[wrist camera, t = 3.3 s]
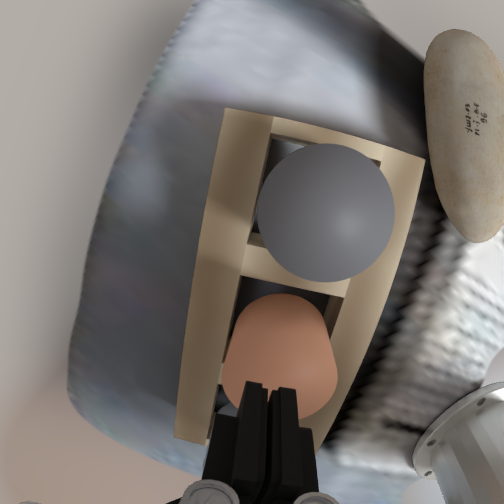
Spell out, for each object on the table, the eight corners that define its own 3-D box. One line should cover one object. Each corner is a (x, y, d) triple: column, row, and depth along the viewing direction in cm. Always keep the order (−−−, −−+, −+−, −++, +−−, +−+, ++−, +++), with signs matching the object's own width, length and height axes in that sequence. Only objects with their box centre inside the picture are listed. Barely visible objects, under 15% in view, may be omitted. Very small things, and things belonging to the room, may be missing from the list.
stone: (438, 258, 15) (414, 22, 9) (425, 206, 20) (400, 32, 14) (526, 253, 13) (525, 27, 7) (496, 203, 18) (483, 32, 12)
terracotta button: (338, 304, 16) (354, 345, 12) (311, 379, 17) (316, 428, 13) (244, 283, 16) (232, 321, 12) (227, 362, 17) (214, 410, 13)
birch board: (403, 160, 17) (425, 159, 14) (308, 435, 22) (310, 463, 19) (234, 117, 17) (225, 107, 14) (183, 411, 22) (173, 437, 20)
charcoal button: (376, 165, 14) (408, 165, 10) (350, 263, 15) (372, 294, 11) (275, 139, 14) (273, 128, 10) (253, 240, 15) (244, 266, 11)
